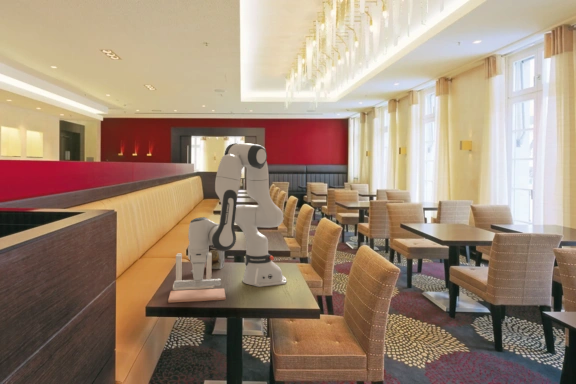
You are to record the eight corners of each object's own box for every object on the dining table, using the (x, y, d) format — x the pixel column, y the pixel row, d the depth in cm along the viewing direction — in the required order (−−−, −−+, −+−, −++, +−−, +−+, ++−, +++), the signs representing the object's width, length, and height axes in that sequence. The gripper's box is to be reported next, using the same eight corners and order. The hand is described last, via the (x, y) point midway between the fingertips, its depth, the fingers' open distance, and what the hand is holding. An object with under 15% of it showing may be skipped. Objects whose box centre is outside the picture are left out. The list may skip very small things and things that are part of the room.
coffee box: (205, 268, 208) (205, 240, 207) (209, 265, 214) (210, 238, 213) (220, 269, 206) (221, 241, 205) (224, 266, 213) (225, 239, 212)
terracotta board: (224, 290, 171) (224, 288, 171) (225, 299, 159) (225, 297, 159) (170, 293, 166) (170, 290, 166) (168, 302, 154) (168, 300, 154)
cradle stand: (213, 284, 180) (214, 252, 179) (214, 288, 174) (214, 255, 173) (173, 286, 176) (173, 253, 175) (172, 290, 170) (172, 256, 169)
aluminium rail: (220, 283, 165) (220, 278, 165) (220, 285, 163) (220, 280, 163) (174, 285, 160) (174, 280, 160) (174, 287, 158) (174, 282, 158)
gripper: (191, 249, 170) (190, 278, 171) (190, 259, 150) (190, 292, 151) (205, 249, 172) (204, 278, 172) (206, 259, 152) (205, 291, 153)
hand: (197, 285), depth 162 cm, fingers closed on aluminium rail, 2 cm apart
